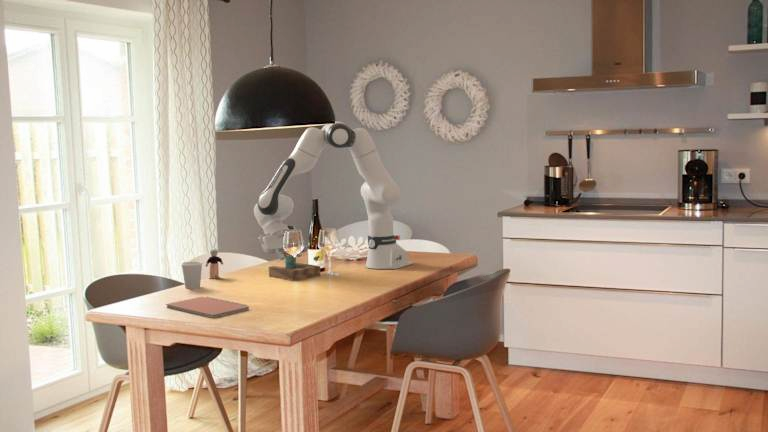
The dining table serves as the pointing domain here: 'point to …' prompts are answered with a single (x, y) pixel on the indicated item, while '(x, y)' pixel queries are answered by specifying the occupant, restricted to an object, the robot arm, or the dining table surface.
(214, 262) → the grandmother figurine
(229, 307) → the notebook
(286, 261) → the teal drink can
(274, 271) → the dark brown square block
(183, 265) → the dixie cup
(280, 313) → the dining table surface
